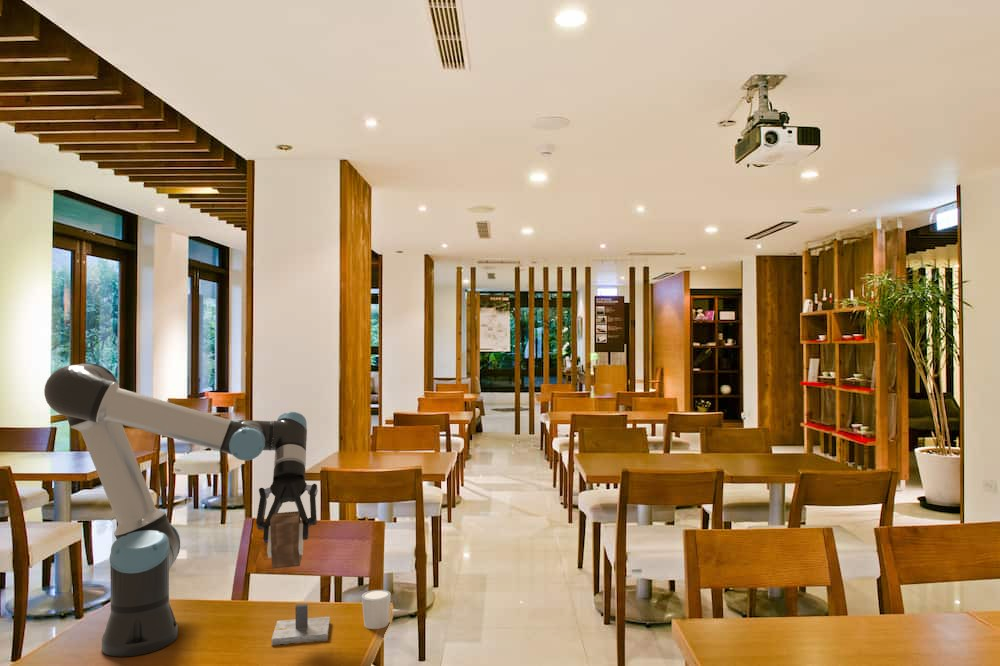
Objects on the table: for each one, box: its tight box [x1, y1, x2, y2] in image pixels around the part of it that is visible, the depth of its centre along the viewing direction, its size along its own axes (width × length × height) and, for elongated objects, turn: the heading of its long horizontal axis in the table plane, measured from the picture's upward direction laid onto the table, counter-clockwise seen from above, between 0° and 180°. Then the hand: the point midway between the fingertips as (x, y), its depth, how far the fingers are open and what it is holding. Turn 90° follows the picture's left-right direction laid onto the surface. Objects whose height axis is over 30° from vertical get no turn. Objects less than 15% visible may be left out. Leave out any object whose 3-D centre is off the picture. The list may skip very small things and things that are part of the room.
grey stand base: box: [271, 603, 331, 646], centre depth 158 cm, size 12×10×6 cm
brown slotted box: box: [270, 510, 303, 570], centre depth 158 cm, size 6×6×11 cm
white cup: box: [361, 589, 392, 630], centre depth 163 cm, size 7×7×7 cm
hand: (285, 553), depth 155 cm, fingers closed on brown slotted box, 6 cm apart
